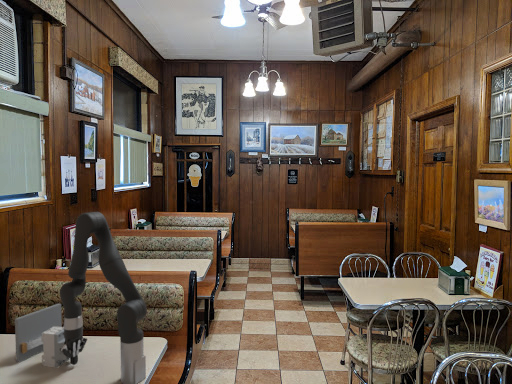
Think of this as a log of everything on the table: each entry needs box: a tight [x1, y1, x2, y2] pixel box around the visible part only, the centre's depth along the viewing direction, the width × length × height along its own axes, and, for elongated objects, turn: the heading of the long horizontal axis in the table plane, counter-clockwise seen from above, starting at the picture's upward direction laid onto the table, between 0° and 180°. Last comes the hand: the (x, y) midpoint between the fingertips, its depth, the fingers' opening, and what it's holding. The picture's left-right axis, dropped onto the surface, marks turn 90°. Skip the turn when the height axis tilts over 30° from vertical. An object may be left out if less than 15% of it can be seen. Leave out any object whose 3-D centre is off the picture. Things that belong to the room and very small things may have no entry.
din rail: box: [21, 336, 44, 353], centre depth 178 cm, size 2×20×4 cm, turn 155°
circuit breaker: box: [41, 326, 70, 368], centre depth 168 cm, size 8×14×15 cm, turn 79°
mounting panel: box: [14, 303, 63, 363], centre depth 179 cm, size 2×22×20 cm, turn 155°
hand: (74, 363), depth 165 cm, fingers closed
